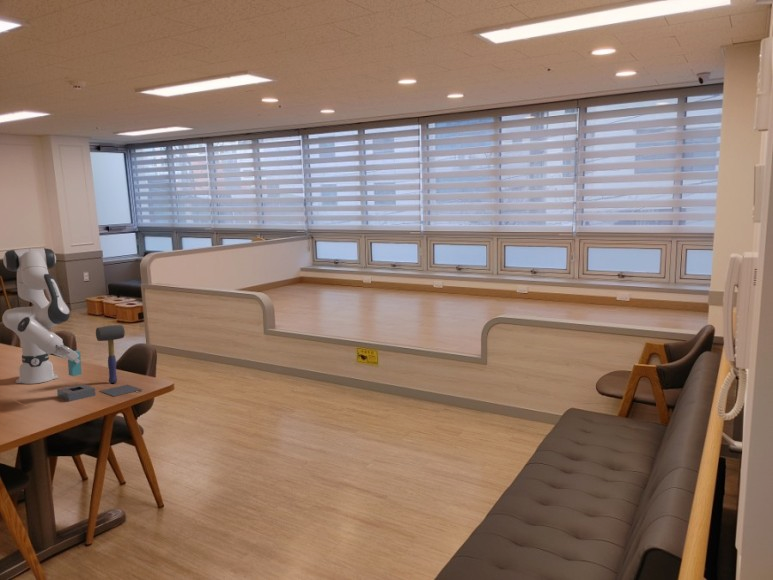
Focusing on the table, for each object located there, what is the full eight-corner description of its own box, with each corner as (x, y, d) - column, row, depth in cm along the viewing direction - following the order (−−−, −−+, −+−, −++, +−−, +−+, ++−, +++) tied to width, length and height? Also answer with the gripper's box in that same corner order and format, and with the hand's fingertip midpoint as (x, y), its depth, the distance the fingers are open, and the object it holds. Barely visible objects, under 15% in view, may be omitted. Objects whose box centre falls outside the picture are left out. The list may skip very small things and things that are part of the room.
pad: (99, 392, 279) (99, 390, 279) (127, 386, 290) (127, 384, 290) (113, 397, 270) (113, 396, 270) (142, 391, 281) (142, 389, 281)
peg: (68, 374, 270) (67, 351, 269) (77, 373, 273) (76, 350, 272) (72, 376, 268) (71, 353, 266) (81, 374, 271) (80, 351, 269)
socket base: (57, 397, 271) (57, 389, 270) (83, 391, 280) (83, 383, 279) (69, 402, 263) (68, 394, 263) (95, 396, 273) (95, 388, 272)
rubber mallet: (123, 379, 301) (120, 323, 298) (128, 382, 296) (125, 325, 292) (98, 384, 293) (94, 326, 290) (102, 387, 288) (98, 328, 284)
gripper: (67, 341, 256) (90, 359, 265) (47, 335, 269) (70, 352, 278) (57, 353, 253) (81, 370, 262) (37, 346, 266) (61, 363, 275)
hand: (75, 361), depth 270 cm, fingers closed on peg, 4 cm apart
